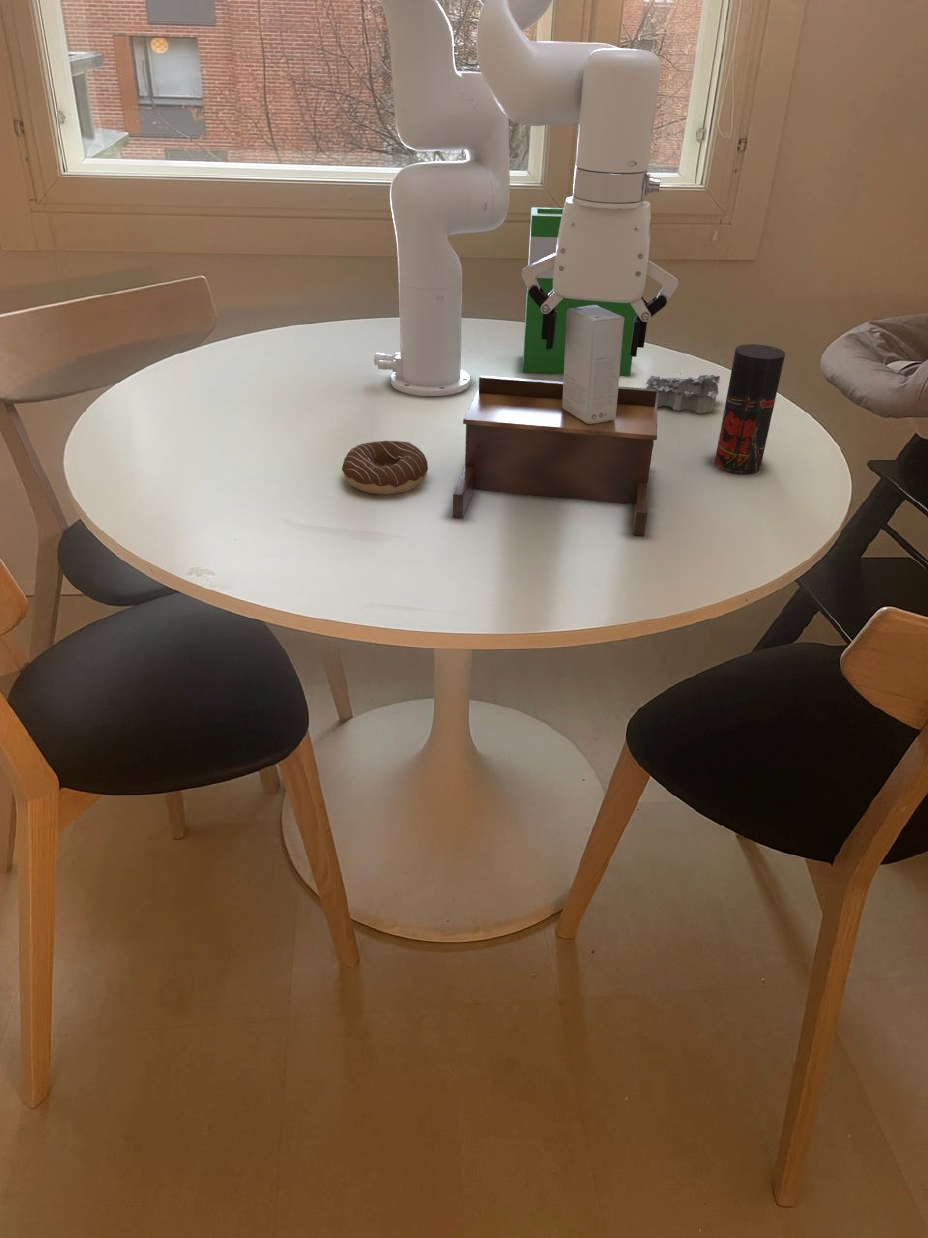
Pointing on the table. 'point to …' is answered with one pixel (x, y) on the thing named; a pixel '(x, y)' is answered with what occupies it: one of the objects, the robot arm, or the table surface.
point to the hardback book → (560, 304)
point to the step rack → (557, 446)
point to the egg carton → (686, 392)
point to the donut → (385, 467)
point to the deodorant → (749, 408)
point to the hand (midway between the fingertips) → (591, 349)
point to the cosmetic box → (592, 363)
